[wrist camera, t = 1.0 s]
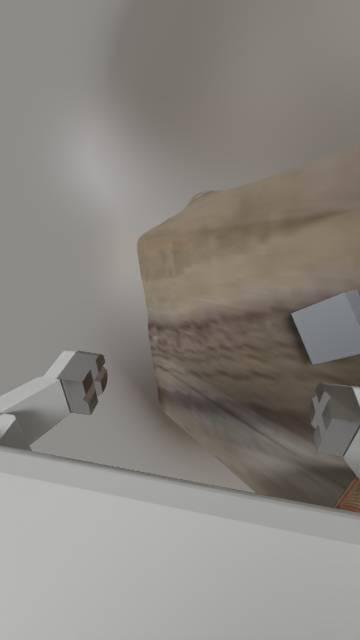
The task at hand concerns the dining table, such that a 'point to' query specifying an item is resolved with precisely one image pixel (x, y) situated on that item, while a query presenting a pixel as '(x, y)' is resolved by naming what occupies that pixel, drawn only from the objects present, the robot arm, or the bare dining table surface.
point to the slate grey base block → (331, 327)
